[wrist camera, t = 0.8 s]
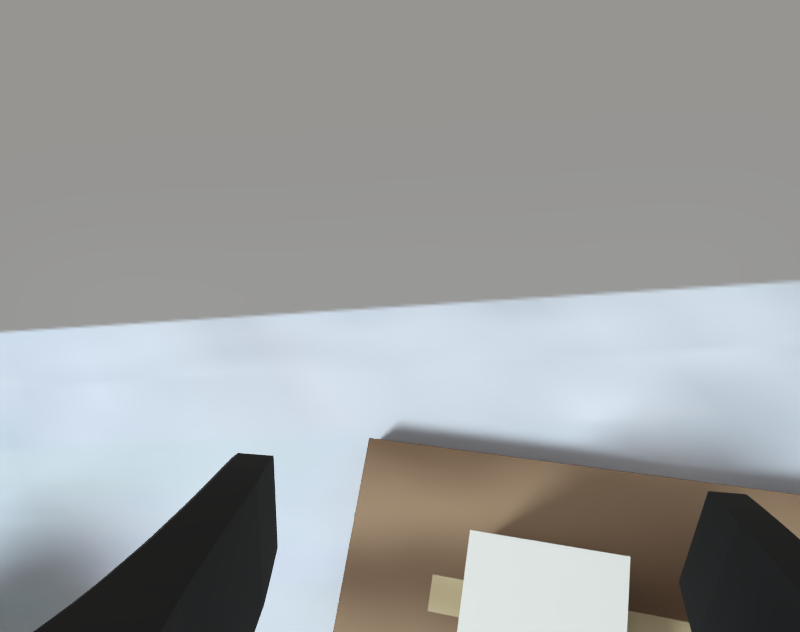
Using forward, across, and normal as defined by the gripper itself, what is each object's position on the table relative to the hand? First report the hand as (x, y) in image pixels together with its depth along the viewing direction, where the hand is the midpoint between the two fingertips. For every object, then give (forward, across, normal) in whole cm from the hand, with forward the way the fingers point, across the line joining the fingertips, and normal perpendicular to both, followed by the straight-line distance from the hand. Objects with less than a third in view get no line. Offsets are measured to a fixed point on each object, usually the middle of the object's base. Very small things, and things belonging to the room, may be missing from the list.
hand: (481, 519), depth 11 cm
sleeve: (+9, -4, +12) cm, 15 cm away
